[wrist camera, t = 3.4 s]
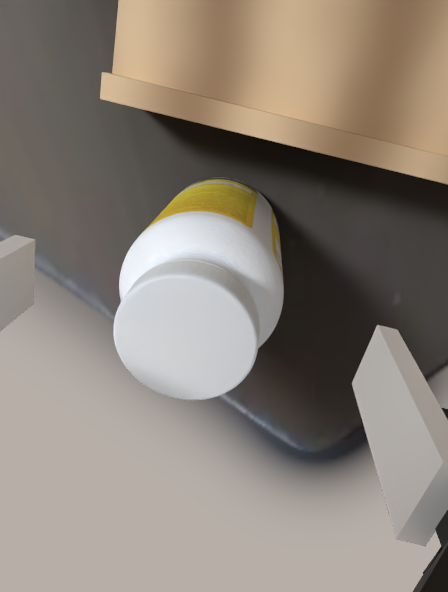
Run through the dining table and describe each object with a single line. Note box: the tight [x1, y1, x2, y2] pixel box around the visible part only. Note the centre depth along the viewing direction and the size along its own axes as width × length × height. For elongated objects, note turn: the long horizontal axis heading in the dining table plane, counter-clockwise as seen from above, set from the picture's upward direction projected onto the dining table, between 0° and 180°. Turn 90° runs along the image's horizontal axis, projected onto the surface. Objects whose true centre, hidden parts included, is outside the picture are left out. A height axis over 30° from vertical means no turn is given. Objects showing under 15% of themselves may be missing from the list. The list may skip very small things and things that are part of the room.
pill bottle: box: [113, 177, 284, 400], centre depth 18 cm, size 6×6×12 cm
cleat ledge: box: [100, 0, 448, 184], centre depth 17 cm, size 22×11×4 cm, turn 78°
